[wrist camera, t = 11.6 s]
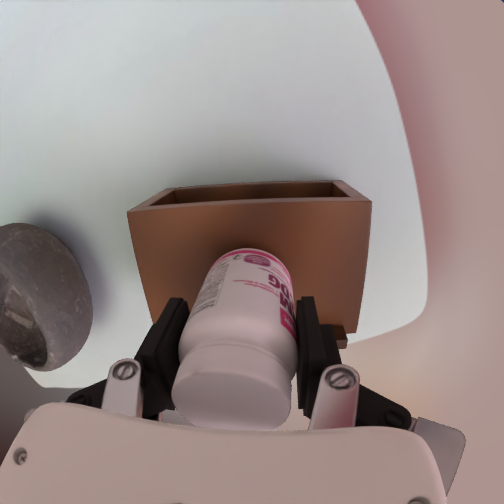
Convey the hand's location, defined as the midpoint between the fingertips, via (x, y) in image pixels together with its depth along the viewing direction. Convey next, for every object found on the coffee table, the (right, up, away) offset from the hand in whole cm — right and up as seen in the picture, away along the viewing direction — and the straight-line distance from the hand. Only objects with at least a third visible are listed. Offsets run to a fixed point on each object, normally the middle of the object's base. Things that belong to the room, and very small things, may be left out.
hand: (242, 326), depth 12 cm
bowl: (-21, +1, +14) cm, 25 cm away
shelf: (+1, +5, +11) cm, 12 cm away
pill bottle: (0, +2, +4) cm, 4 cm away
